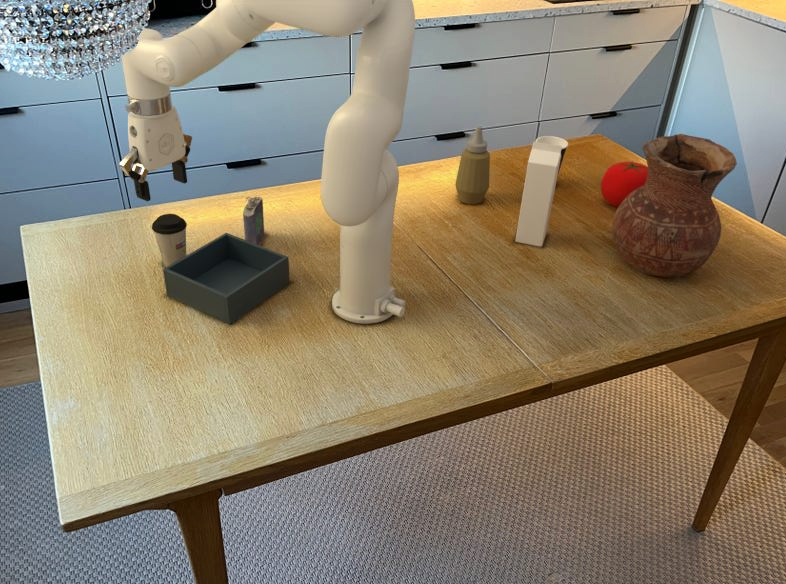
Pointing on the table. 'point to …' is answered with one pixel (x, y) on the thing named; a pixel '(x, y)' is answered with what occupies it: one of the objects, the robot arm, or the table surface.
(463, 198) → the squeeze bottle
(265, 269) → the tub
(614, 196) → the tomato
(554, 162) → the milk
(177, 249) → the coffee cup
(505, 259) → the table surface
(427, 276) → the table surface
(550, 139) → the dixie cup
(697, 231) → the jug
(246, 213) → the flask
